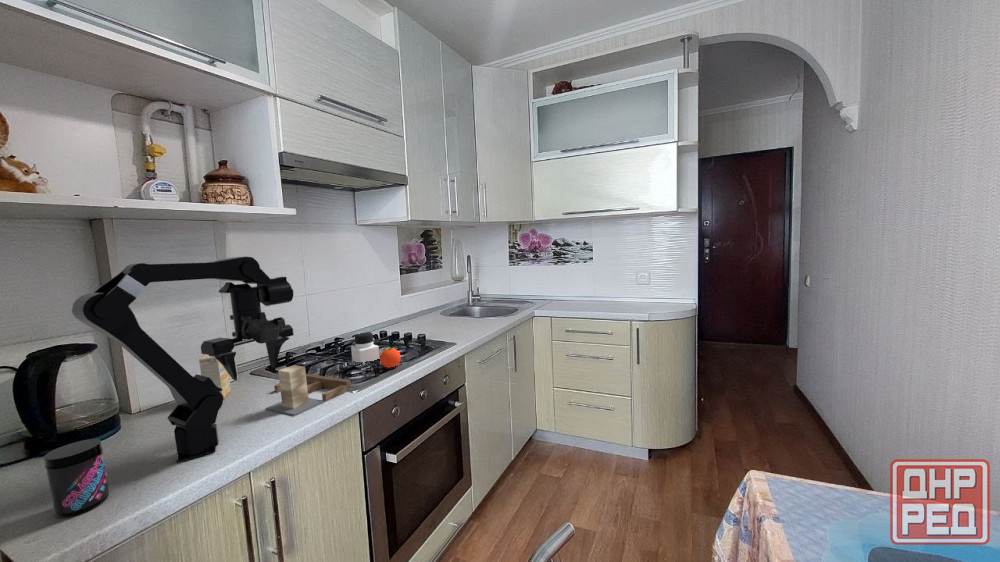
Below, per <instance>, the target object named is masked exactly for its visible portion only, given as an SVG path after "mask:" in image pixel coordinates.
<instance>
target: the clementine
mask: <svg viewBox="0 0 1000 562" xmlns="http://www.w3.org/2000/svg"><path fill="white" fill-rule="evenodd" d="M401 359H402V356H401V353H400V351H399V350H397V348H394V347H386V348H383V350H382V352H381V353H380V365H382V366H383V367H384V368H386V367H387V368H386V369H391V368H390V367H394V368H396V367H397V366H398V365H399V364H400V363H401ZM395 366H396V367H395Z"/></svg>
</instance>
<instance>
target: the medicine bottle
mask: <svg viewBox="0 0 1000 562" xmlns="http://www.w3.org/2000/svg"><path fill="white" fill-rule="evenodd" d="M373 335H374V334H373V333H372V332H370V331H362V332H359V333H357V334H355V335H354V342H355V344H354V345H355V346H352V347H350V350H351V361H352V362H353V361H355V362H366V361H374V360H377V359H380V356H381V354H380V347H379V345H377V344H374V336H373Z"/></svg>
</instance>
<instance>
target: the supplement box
mask: <svg viewBox="0 0 1000 562" xmlns="http://www.w3.org/2000/svg"><path fill="white" fill-rule="evenodd" d="M198 362H199V369H200V375H202V376H206V377H209V378H210V379H211V380H212V381H213V382H214V384H215V385H216V386H217V387H218V388H221V389H223V390H222V391H219V392H221V394H222V395H223V397H224V399H225V398H226V396H227V395H228V394H229V393H230V392H231V383H230V377H229V376H230V375H229V374H228V372H227V371H226V369H225V368H224V367H223V365H222V364H221V363H220V362H219V361H218V360H217V359H216V358H215V357H212V356H209V355H206V354H204V355H203V356H202V357H200V358H199V359H198Z"/></svg>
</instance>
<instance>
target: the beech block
mask: <svg viewBox="0 0 1000 562" xmlns="http://www.w3.org/2000/svg"><path fill="white" fill-rule="evenodd" d="M277 372H278V373H277V374H278V381H279V383H280V390H281V391H280V397H281V401H282V407H287V408H292V409H294V408H297V407H299V406H301V405H303V404H306V403H308V402H309V398H310V397H309V394H308V389H307V381H306V374H307V373H306V366H301V365H296V364H295V365H294V364H293V365H290V366H288V367H284V368H281V369H279V370H277Z"/></svg>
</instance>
